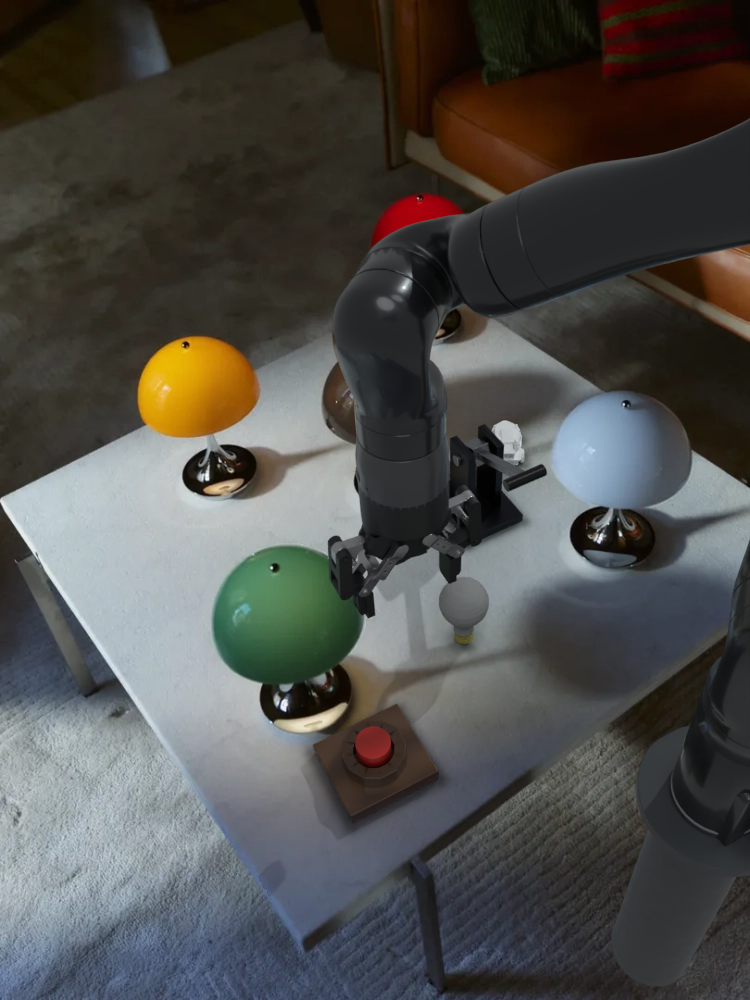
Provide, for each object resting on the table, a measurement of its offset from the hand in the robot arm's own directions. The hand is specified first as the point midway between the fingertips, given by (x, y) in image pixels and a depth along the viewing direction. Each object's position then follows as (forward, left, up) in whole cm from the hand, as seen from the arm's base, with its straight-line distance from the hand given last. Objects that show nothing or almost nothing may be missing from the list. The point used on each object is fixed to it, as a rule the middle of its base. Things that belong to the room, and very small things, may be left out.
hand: (408, 593), depth 89 cm
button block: (-4, +7, -20) cm, 21 cm away
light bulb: (+5, -9, -20) cm, 22 cm away
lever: (+16, -21, -9) cm, 28 cm away
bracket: (+22, -21, -20) cm, 36 cm away
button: (-4, +7, -17) cm, 19 cm away
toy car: (+29, -30, -20) cm, 46 cm away
